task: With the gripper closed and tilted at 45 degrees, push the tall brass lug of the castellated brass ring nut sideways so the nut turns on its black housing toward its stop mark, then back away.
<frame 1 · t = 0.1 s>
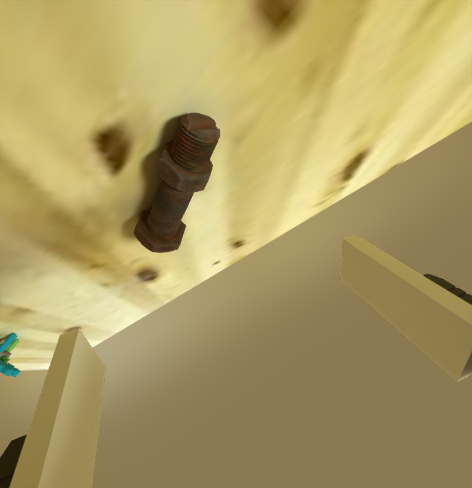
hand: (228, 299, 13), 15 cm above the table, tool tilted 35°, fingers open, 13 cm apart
bolt: (171, 170, 26), on the table
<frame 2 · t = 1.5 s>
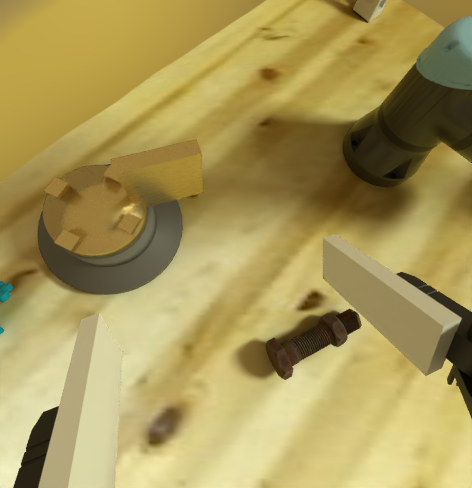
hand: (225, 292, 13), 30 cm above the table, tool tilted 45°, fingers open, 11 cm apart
mechanical component: (361, 10, 65), on the table
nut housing: (115, 227, 44), on the table
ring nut: (121, 190, 34), point 11 cm above the table, hinge at 0.0°
bolt: (310, 338, 43), on the table
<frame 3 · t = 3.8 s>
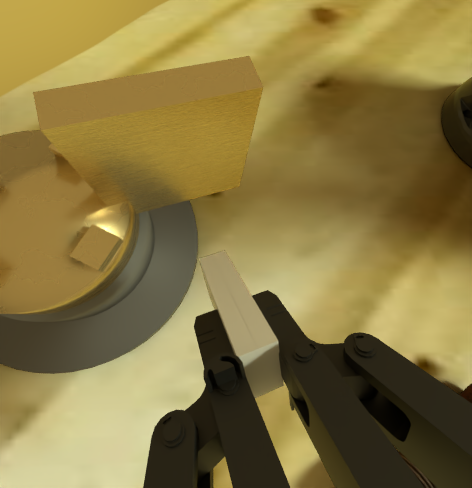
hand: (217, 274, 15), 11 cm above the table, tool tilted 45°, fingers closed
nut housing: (83, 245, 25), on the table
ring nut: (77, 179, 16), point 11 cm above the table, hinge at 0.0°
bolt: (415, 440, 24), on the table
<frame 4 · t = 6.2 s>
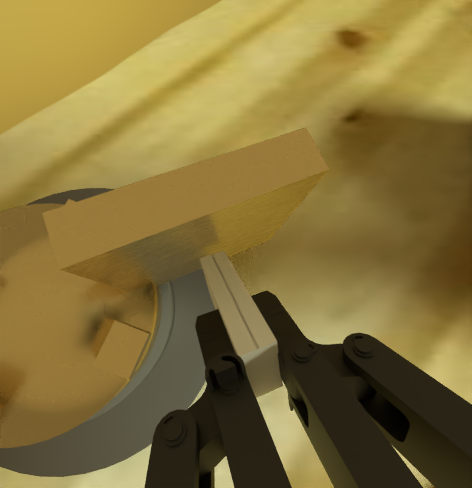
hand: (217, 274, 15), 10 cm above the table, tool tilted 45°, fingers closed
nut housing: (93, 312, 23), on the table
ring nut: (94, 275, 13), point 11 cm above the table, hinge at 5.2°, touching gripper
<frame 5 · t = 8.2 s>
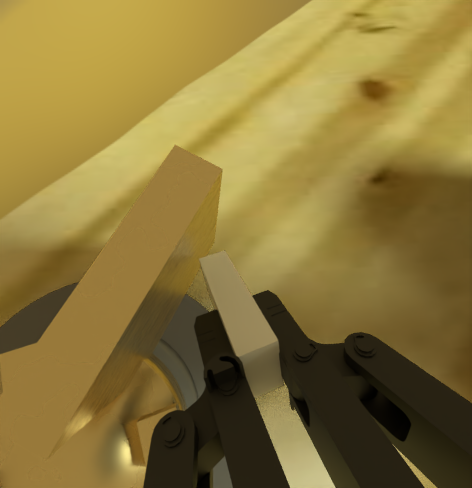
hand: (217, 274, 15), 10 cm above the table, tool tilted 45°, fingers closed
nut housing: (111, 417, 21), on the table
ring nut: (85, 405, 12), point 11 cm above the table, hinge at 43.9°, touching gripper
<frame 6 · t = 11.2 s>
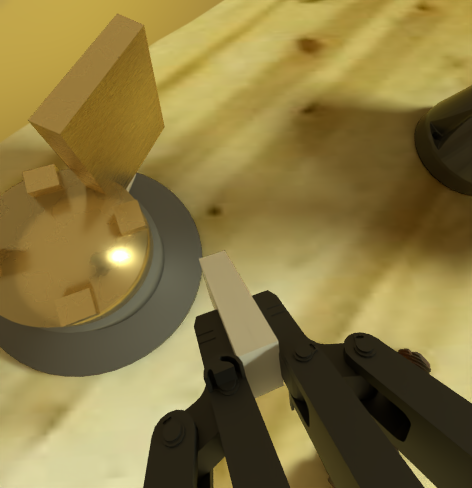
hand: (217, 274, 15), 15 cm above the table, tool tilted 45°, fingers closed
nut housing: (101, 263, 29), on the table
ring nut: (78, 184, 20), point 11 cm above the table, hinge at 46.9°
bolt: (373, 415, 28), on the table
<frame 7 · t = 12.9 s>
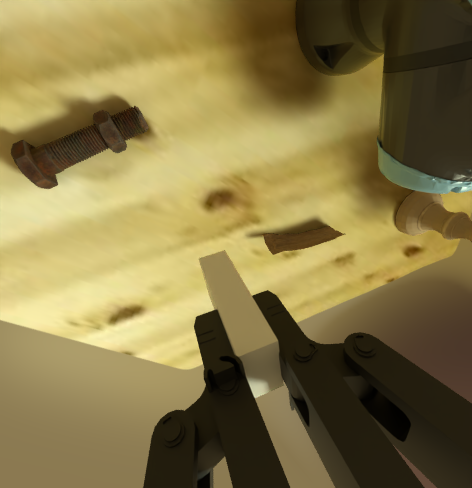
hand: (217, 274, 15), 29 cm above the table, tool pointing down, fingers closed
oil lamp: (413, 210, 62), on the table
bolt: (91, 141, 35), on the table
wood plank: (296, 231, 53), on the table
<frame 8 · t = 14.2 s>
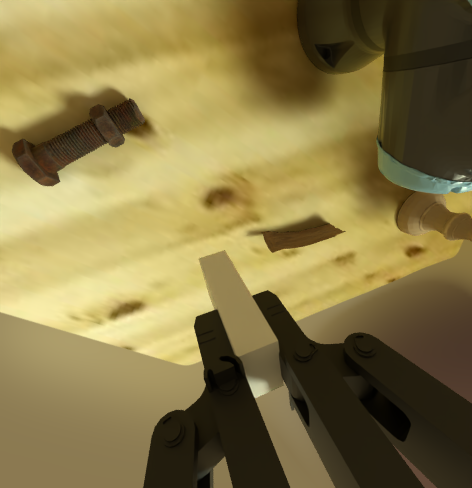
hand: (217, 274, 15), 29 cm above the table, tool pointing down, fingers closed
oil lamp: (416, 210, 61), on the table
bolt: (89, 137, 35), on the table
wood plank: (296, 228, 53), on the table
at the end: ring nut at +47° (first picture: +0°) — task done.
